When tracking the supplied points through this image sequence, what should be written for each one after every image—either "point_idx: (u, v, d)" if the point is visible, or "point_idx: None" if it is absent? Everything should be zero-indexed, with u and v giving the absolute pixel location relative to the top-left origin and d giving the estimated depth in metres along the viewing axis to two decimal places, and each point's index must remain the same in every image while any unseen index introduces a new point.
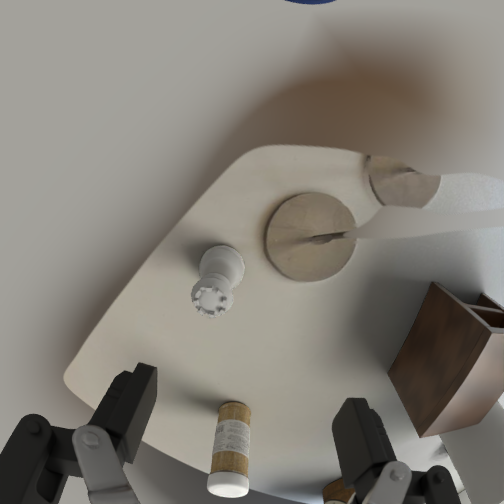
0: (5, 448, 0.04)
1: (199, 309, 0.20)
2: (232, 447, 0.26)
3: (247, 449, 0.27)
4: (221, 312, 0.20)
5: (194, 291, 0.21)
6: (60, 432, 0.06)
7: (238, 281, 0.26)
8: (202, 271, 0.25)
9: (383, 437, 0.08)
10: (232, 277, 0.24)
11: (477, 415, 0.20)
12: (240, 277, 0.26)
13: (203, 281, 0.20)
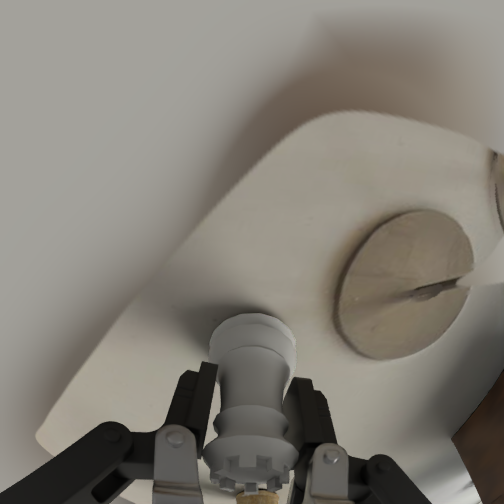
0: (72, 446, 0.05)
1: (223, 484, 0.07)
2: None
3: None
4: (273, 489, 0.07)
5: (209, 456, 0.07)
6: (137, 436, 0.07)
7: None
8: (217, 371, 0.11)
9: (326, 419, 0.09)
10: (282, 391, 0.10)
11: None
12: (291, 374, 0.12)
13: (231, 443, 0.07)
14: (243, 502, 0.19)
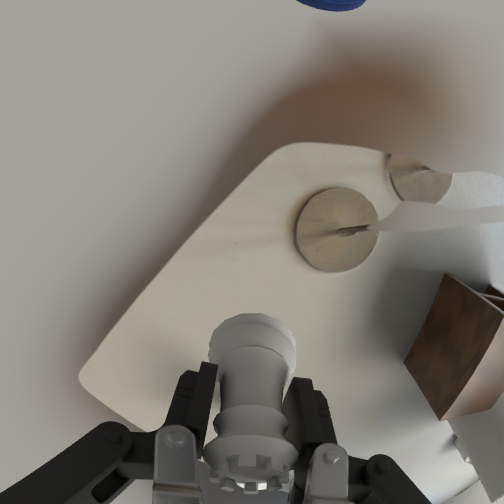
0: (72, 446, 0.05)
1: (223, 483, 0.07)
2: None
3: None
4: (273, 489, 0.07)
5: (209, 456, 0.07)
6: (137, 437, 0.07)
7: None
8: (217, 371, 0.12)
9: (326, 419, 0.09)
10: (282, 391, 0.10)
11: (490, 400, 0.21)
12: (291, 374, 0.12)
13: (231, 442, 0.07)
14: None
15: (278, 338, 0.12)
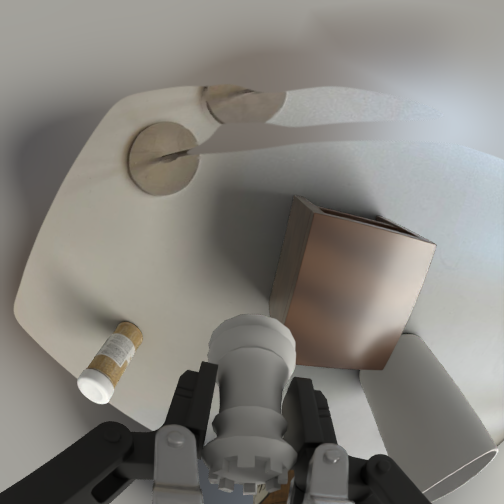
0: (72, 446, 0.05)
1: (222, 484, 0.07)
2: (106, 352, 0.30)
3: (121, 358, 0.31)
4: (272, 490, 0.07)
5: (208, 457, 0.07)
6: (137, 437, 0.07)
7: None
8: None
9: (326, 419, 0.09)
10: (281, 392, 0.10)
11: (370, 354, 0.24)
12: (290, 374, 0.12)
13: (230, 443, 0.07)
14: (116, 329, 0.36)
15: (277, 339, 0.12)
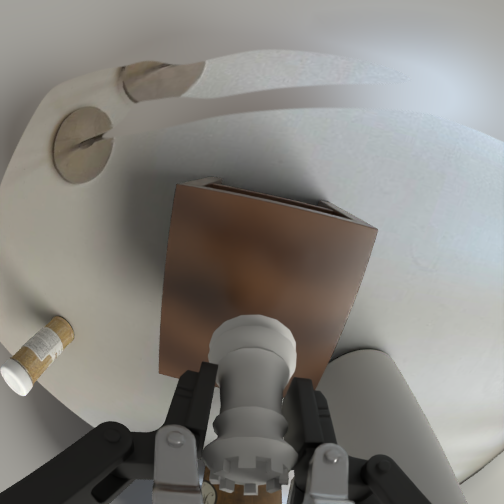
0: (72, 446, 0.05)
1: (223, 484, 0.07)
2: (29, 344, 0.24)
3: (43, 352, 0.25)
4: (273, 490, 0.07)
5: (209, 457, 0.07)
6: (137, 437, 0.07)
7: None
8: (217, 372, 0.12)
9: (326, 419, 0.09)
10: (282, 392, 0.10)
11: None
12: (291, 375, 0.12)
13: (231, 444, 0.07)
14: (48, 323, 0.31)
15: (278, 339, 0.12)
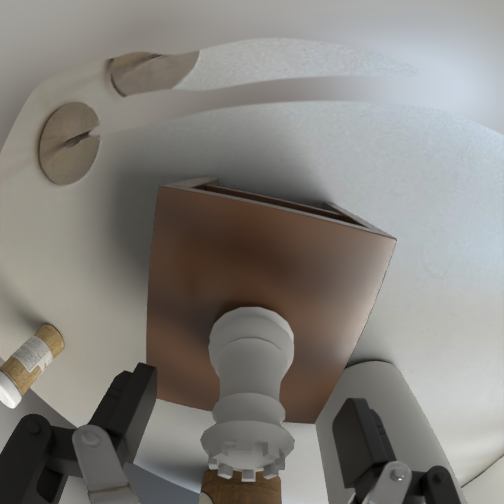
0: (5, 448, 0.04)
1: (221, 470, 0.07)
2: (17, 355, 0.22)
3: (32, 363, 0.23)
4: (270, 476, 0.07)
5: (208, 442, 0.07)
6: (61, 432, 0.06)
7: None
8: (217, 362, 0.12)
9: (383, 437, 0.08)
10: (280, 381, 0.11)
11: (288, 404, 0.16)
12: (288, 366, 0.13)
13: (229, 428, 0.07)
14: None
15: (276, 330, 0.12)
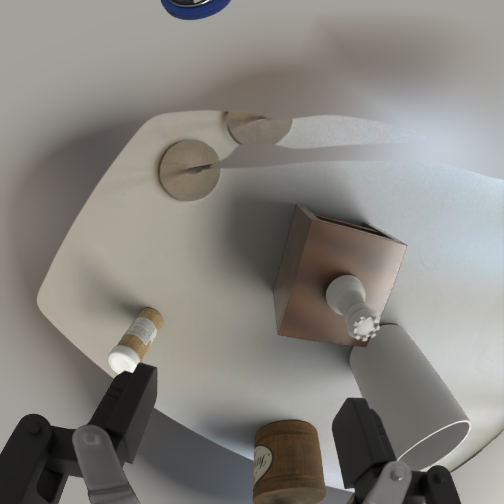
0: (5, 448, 0.04)
1: (356, 335, 0.23)
2: (133, 332, 0.37)
3: (146, 338, 0.38)
4: (373, 335, 0.23)
5: (353, 320, 0.23)
6: (60, 432, 0.05)
7: None
8: (337, 299, 0.28)
9: (383, 437, 0.08)
10: None
11: None
12: None
13: (361, 311, 0.23)
14: (139, 314, 0.44)
15: (360, 284, 0.28)
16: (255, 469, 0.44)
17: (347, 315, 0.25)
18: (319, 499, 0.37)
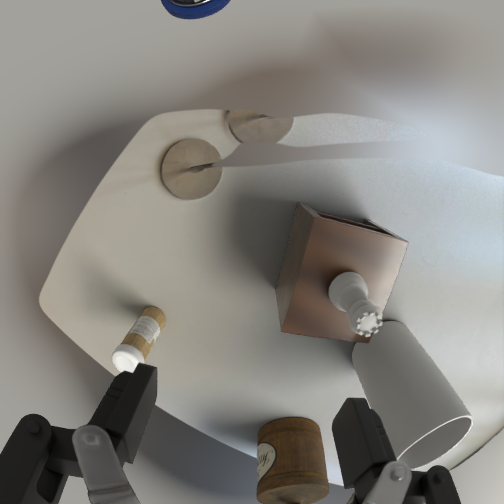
0: (5, 448, 0.04)
1: (359, 331, 0.23)
2: (137, 331, 0.38)
3: (150, 336, 0.39)
4: (376, 331, 0.23)
5: (356, 316, 0.23)
6: (60, 432, 0.05)
7: None
8: (339, 296, 0.28)
9: (383, 437, 0.08)
10: None
11: None
12: None
13: (364, 307, 0.23)
14: (142, 313, 0.44)
15: (362, 281, 0.28)
16: (258, 466, 0.45)
17: (350, 311, 0.25)
18: (323, 495, 0.38)
